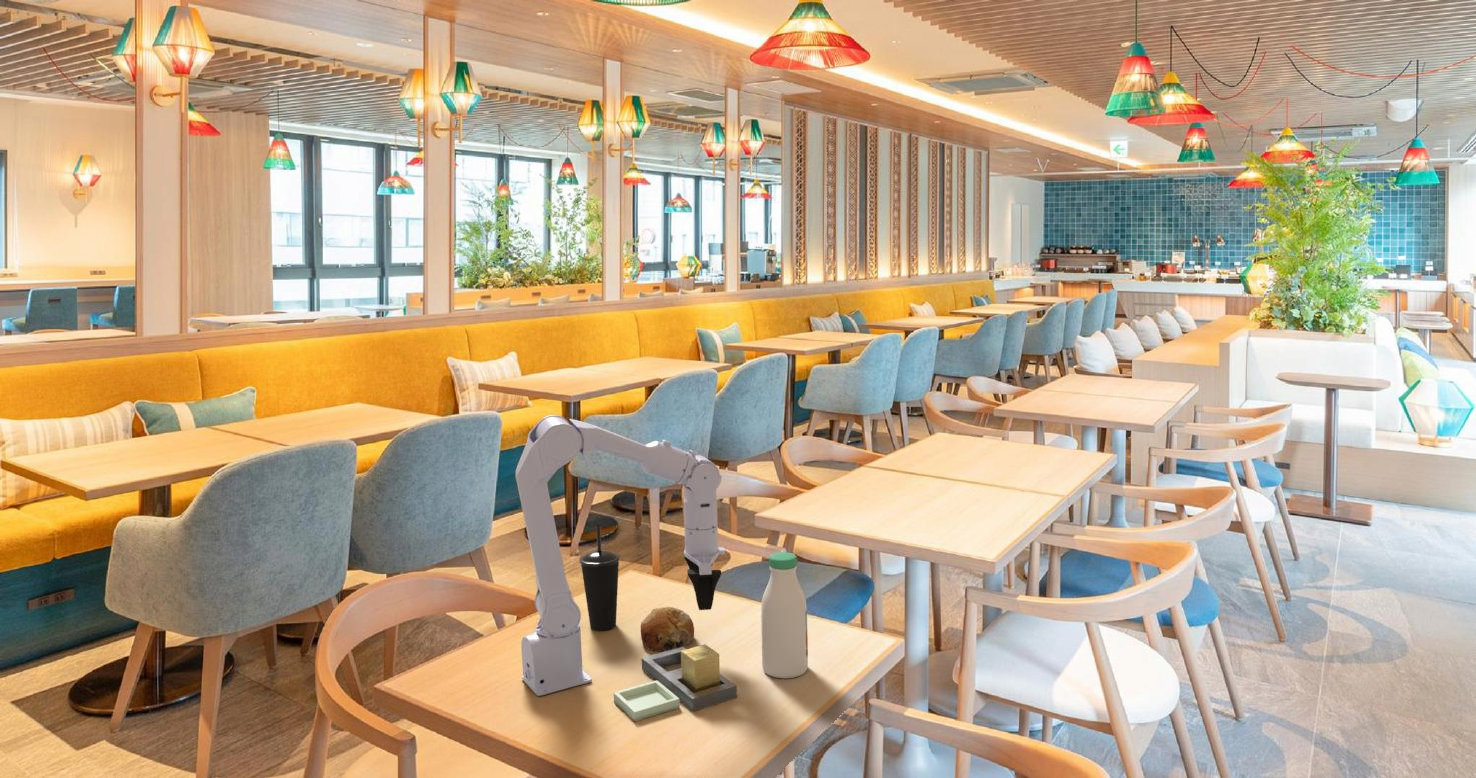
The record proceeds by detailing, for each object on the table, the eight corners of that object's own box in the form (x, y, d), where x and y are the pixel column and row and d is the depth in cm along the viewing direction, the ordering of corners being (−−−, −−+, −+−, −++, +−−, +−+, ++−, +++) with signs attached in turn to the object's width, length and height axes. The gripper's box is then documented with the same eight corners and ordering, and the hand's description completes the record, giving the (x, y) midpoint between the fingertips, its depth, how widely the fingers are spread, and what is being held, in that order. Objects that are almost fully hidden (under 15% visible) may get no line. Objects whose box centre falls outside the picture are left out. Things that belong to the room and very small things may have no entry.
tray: (635, 721, 144) (634, 711, 144) (614, 701, 150) (613, 692, 150) (679, 707, 148) (679, 698, 148) (657, 688, 154) (657, 680, 154)
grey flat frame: (692, 711, 147) (692, 698, 146) (641, 668, 162) (641, 657, 162) (736, 697, 151) (736, 685, 151) (683, 657, 166) (682, 646, 166)
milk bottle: (804, 681, 156) (803, 564, 153) (758, 678, 157) (755, 562, 154) (810, 661, 163) (809, 549, 160) (766, 658, 165) (764, 547, 162)
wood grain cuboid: (695, 702, 150) (694, 660, 148) (682, 691, 153) (680, 650, 152) (720, 695, 152) (719, 653, 151) (706, 684, 156) (705, 644, 155)
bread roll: (697, 652, 177) (698, 608, 179) (689, 651, 167) (690, 605, 169) (644, 651, 178) (646, 608, 180) (633, 650, 168) (635, 604, 170)
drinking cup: (575, 632, 178) (570, 529, 175) (593, 616, 185) (588, 517, 182) (613, 636, 176) (608, 531, 173) (629, 620, 183) (625, 520, 180)
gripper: (728, 536, 157) (730, 614, 159) (719, 512, 171) (721, 584, 173) (686, 539, 156) (688, 617, 158) (680, 514, 170) (682, 587, 172)
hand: (703, 600), depth 165 cm, fingers open, 7 cm apart
